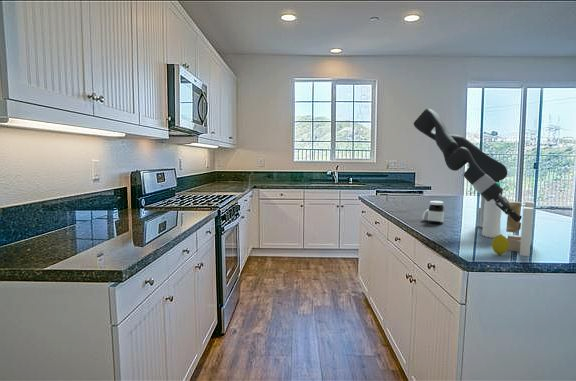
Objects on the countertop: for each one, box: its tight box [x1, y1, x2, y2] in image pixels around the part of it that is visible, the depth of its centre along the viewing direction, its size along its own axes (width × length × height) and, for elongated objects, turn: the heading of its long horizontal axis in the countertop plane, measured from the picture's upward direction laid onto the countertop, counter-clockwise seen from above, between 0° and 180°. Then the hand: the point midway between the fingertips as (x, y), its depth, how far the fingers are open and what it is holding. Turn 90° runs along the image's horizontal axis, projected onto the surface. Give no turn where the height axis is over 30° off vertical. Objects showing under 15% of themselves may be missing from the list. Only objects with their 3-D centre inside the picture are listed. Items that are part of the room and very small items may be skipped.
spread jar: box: [421, 200, 445, 225], centre depth 194 cm, size 12×11×12 cm
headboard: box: [507, 200, 535, 257], centre depth 142 cm, size 8×22×18 cm, turn 144°
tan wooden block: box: [506, 200, 522, 234], centre depth 143 cm, size 5×4×12 cm
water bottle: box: [481, 181, 502, 239], centre depth 161 cm, size 7×7×25 cm
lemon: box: [491, 233, 509, 256], centre depth 133 cm, size 6×6×8 cm
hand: (519, 219), depth 142 cm, fingers closed on tan wooden block, 4 cm apart
